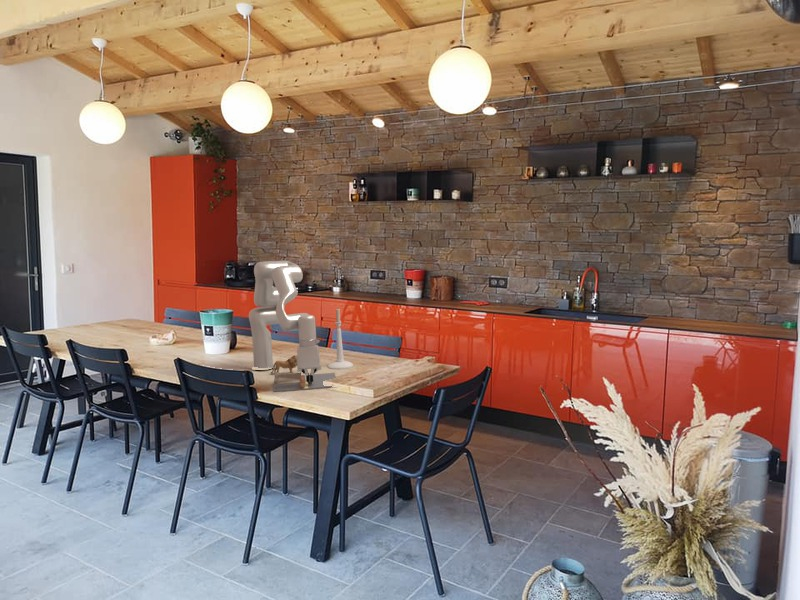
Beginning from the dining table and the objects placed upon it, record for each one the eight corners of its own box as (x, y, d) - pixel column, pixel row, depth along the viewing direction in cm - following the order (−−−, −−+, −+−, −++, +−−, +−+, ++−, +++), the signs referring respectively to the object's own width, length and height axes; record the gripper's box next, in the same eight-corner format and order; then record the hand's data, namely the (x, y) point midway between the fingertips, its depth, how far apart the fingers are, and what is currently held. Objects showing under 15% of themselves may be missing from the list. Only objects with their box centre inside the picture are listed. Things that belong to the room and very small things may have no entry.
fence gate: (303, 380, 265) (302, 371, 265) (307, 380, 265) (306, 370, 265) (300, 387, 253) (299, 377, 252) (304, 387, 253) (304, 377, 253)
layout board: (275, 378, 276) (275, 377, 276) (334, 373, 281) (334, 372, 281) (273, 392, 251) (273, 390, 251) (338, 387, 255) (338, 385, 255)
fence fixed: (275, 382, 265) (274, 372, 265) (307, 380, 268) (307, 369, 267) (274, 383, 264) (274, 373, 263) (307, 381, 266) (307, 370, 265)
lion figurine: (300, 371, 289) (299, 353, 288) (300, 374, 283) (299, 356, 282) (270, 373, 287) (269, 355, 286) (269, 376, 282) (268, 357, 281)
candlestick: (322, 367, 296) (319, 309, 292) (339, 362, 306) (336, 306, 303) (342, 370, 288) (339, 310, 285) (358, 365, 299) (355, 307, 296)
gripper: (324, 340, 261) (326, 380, 263) (290, 342, 259) (293, 382, 261) (325, 343, 254) (327, 384, 256) (290, 345, 252) (292, 387, 254)
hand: (310, 383), depth 258 cm, fingers closed
